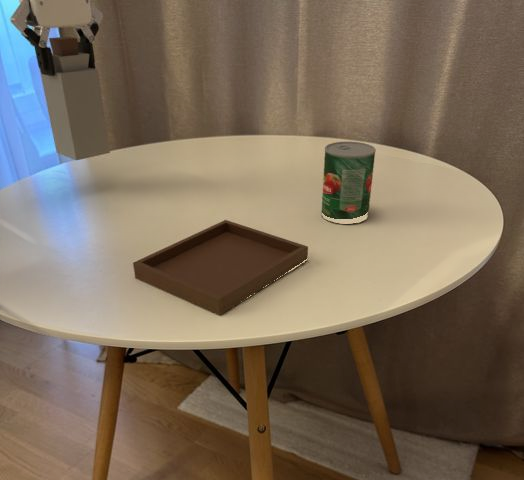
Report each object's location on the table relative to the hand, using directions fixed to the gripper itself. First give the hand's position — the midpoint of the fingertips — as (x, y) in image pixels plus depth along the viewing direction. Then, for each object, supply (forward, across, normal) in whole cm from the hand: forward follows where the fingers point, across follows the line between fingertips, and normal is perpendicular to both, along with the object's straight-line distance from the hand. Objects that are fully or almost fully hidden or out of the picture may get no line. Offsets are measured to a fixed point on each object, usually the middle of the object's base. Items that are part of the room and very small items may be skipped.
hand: (68, 71), depth 91 cm
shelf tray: (+20, +8, +41) cm, 46 cm away
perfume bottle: (+13, 0, 0) cm, 13 cm away
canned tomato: (+20, -19, +44) cm, 52 cm away
